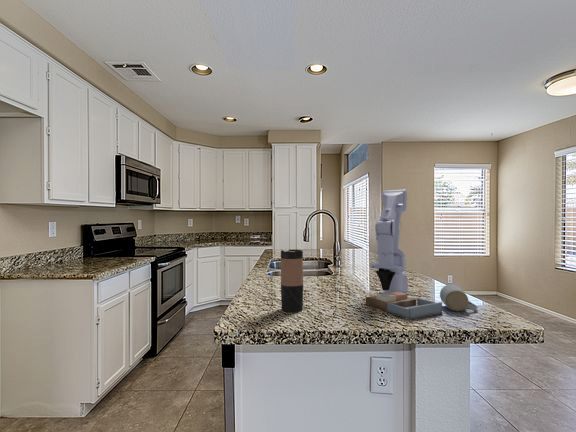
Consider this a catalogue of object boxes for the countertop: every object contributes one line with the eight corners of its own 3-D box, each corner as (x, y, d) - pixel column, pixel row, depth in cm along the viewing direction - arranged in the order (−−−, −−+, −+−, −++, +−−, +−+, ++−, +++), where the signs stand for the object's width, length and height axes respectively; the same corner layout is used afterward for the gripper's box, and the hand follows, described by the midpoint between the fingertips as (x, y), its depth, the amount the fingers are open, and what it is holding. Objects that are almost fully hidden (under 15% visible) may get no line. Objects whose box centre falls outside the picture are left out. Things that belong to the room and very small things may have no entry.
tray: (418, 306, 113) (418, 296, 113) (442, 313, 105) (441, 302, 105) (387, 312, 107) (387, 301, 107) (410, 319, 98) (410, 308, 98)
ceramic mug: (445, 311, 107) (445, 288, 107) (439, 305, 115) (439, 283, 115) (481, 314, 104) (481, 290, 105) (472, 307, 112) (472, 285, 113)
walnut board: (392, 299, 123) (392, 293, 123) (416, 306, 113) (416, 299, 113) (365, 304, 117) (365, 297, 117) (388, 311, 107) (388, 304, 107)
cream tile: (386, 297, 116) (386, 293, 116) (395, 300, 112) (395, 295, 112) (376, 299, 114) (376, 294, 114) (386, 302, 110) (386, 297, 110)
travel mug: (301, 313, 106) (301, 251, 106) (278, 312, 108) (278, 251, 108) (305, 307, 114) (304, 249, 114) (283, 306, 115) (283, 249, 115)
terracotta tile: (397, 296, 119) (397, 291, 119) (407, 298, 115) (407, 294, 115) (388, 297, 116) (388, 292, 116) (398, 300, 112) (397, 295, 112)
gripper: (363, 252, 125) (364, 287, 125) (392, 255, 113) (392, 294, 112) (377, 251, 129) (378, 285, 128) (406, 254, 116) (407, 292, 116)
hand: (385, 290), depth 121 cm, fingers closed
